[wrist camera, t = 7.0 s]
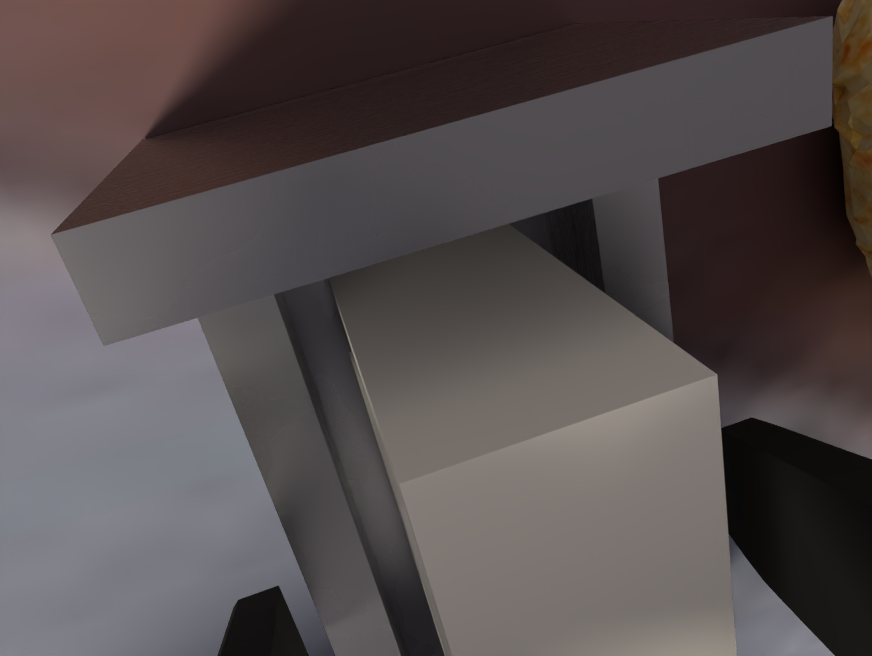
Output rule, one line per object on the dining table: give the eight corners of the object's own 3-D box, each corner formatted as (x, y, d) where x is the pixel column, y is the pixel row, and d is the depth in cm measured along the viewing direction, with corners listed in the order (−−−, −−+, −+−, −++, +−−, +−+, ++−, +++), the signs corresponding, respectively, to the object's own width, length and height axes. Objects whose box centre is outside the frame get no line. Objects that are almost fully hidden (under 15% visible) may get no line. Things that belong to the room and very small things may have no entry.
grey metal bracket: (658, 634, 17) (826, 879, 12) (382, 743, 17) (442, 1053, 12) (576, 23, 12) (832, 16, 7) (141, 139, 11) (50, 234, 6)
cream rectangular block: (574, 576, 15) (754, 873, 10) (436, 627, 15) (545, 967, 9) (505, 218, 12) (721, 372, 6) (323, 272, 11) (393, 485, 6)
